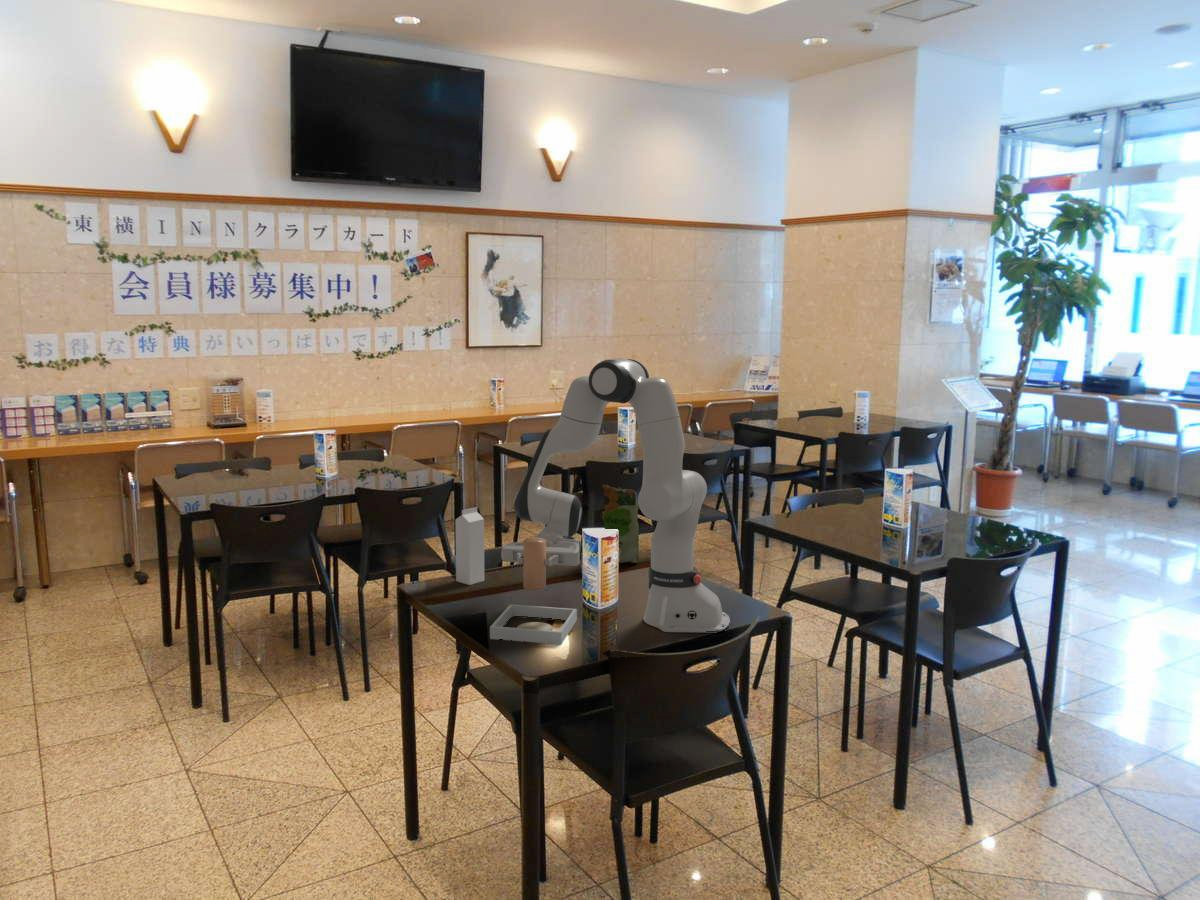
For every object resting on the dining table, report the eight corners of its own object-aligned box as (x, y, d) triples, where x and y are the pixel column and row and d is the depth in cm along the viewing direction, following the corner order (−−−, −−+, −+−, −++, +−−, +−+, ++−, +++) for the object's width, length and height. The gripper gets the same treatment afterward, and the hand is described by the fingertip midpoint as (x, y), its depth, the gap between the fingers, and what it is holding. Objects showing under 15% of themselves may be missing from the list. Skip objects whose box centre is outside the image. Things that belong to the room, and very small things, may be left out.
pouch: (639, 567, 291) (640, 489, 287) (601, 567, 291) (602, 489, 287) (637, 557, 302) (638, 482, 298) (600, 557, 302) (601, 482, 298)
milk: (484, 581, 275) (484, 508, 272) (469, 585, 270) (469, 511, 267) (470, 576, 279) (470, 505, 275) (455, 581, 274) (455, 508, 271)
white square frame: (576, 620, 242) (576, 609, 241) (561, 644, 224) (561, 632, 224) (510, 615, 245) (510, 604, 244) (489, 638, 227) (489, 627, 227)
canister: (548, 584, 235) (548, 538, 233) (542, 590, 230) (542, 543, 228) (526, 582, 236) (526, 536, 234) (520, 589, 231) (520, 542, 229)
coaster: (556, 624, 238) (556, 623, 238) (547, 636, 229) (547, 635, 229) (522, 622, 240) (522, 620, 240) (512, 633, 231) (512, 632, 231)
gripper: (509, 534, 246) (493, 547, 232) (584, 538, 242) (573, 552, 229) (509, 557, 247) (493, 571, 233) (584, 562, 243) (573, 577, 230)
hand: (533, 562), depth 231 cm, fingers closed on canister, 6 cm apart
